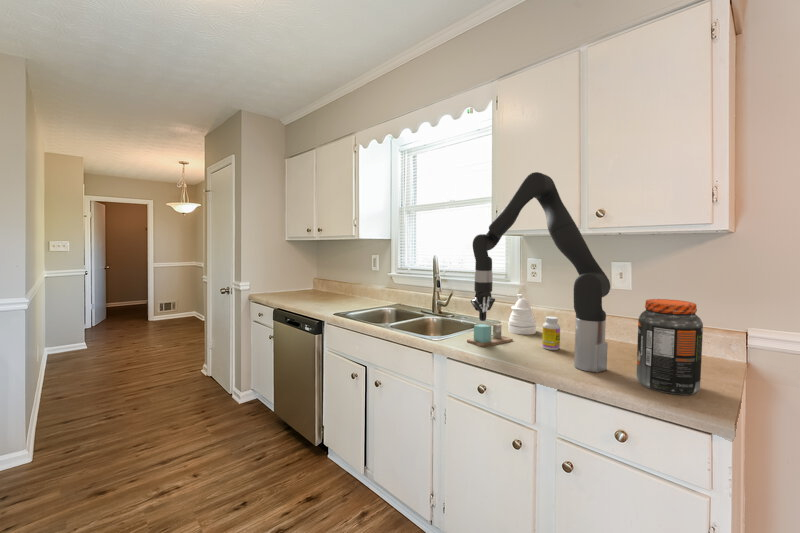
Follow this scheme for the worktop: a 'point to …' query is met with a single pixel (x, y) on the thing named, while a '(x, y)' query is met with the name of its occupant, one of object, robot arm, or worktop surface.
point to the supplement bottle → (551, 334)
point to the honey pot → (522, 318)
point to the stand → (493, 338)
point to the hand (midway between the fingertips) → (482, 320)
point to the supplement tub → (670, 346)
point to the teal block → (482, 333)
